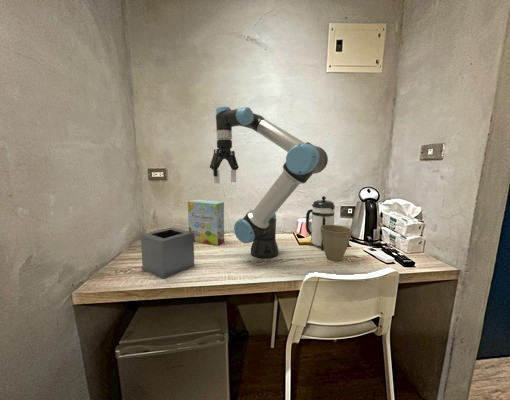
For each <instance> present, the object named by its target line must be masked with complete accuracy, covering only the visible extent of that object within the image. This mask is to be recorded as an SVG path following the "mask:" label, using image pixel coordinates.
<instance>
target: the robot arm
mask: <svg viewBox="0 0 510 400" xmlns="http://www.w3.org/2000/svg"><path fill="white" fill-rule="evenodd" d="M215 109H216V110H215V123H216V140H217V141H216V147H217V148H214V149H213V154H212V159H211V162H210V165H209V168H210V169H211V171H212V172H213V175H212V176H213V182H214V184H220V179H221V178H220V169H219V168H220V166H221V164H222V162H223V160H226V161H227V163H228V165H229V167H230V169H231V170H230V182H231V183H236V182H237V170H238V169H239V165H238V162H237V157H236V154H235V153H236V152H235V150H232V148H233V141H232V140H233V131H232V128H233V127H238V126H239V127H243V128H248V129H249V130H250V129H251V130H253V131H254V132H256V133H258V134H260V135H261V136H262V137H264V138H265V139H267V140H269V141H270V142H271V143H273V144H275V145H276V146H277V147H279V148H281V149H282V150H284V151H285V152H287V153H286V156H285V162H284V163H283V165H282V170H283V171H282V172H281V174H280V175H279V176H278V178H277V179H276V180H275V181H274V182H273V184H272V185H271V187H270V188H269V189H268V190H267V192H266V193H265V194H264V196H263V197H262V198H261V200H260V201H259V202H258V204H257V205H256V206H255V208H254V209H249V210H248V212H246V214H245V215H244V217H243V218H239V219H238V220H236V222H235V223H234V225H233V227H234V228H233V230H234V235H235V237H236V239H237V240H238V241H240V242H241V243H243V244H249V243H252V244H251V247H250V255H251V256H253V257H255V258H259V259H272V258H275V257H277V256H279V247H278V243H277V239H276V237H277V236H276V235H277V234H276V233H277V212H278V210H279V209H280V208H281V207H282V205H284V203H285V202H286V201H287V200H288V198H289V197H290V196H291V195H292V193H294V191H295V190H296V189H297V188H298V187H299V185H301V184H302V185H303V184H306V183H307V182H308V180H309V179H310V178H311V177H312V176H313V175H314V174H315V175H316V174H319V173H321V172H322V171H323V170H325V168H326V167H327V165H328V163H329V162H328V161H329V160H328V159H329V156H328V153H327V152H326V150H325V149H323V147H320V146H316V145H314V144H312V143H311V142H309V141H308V142H304V141H302V140H301V139H299V138H297V137H296V136H294V135H292V134H290V133H289V132H288V131H286V130H285V129H282V128H281V127H279V126H277V125H276V124H274V123H272V122H271V121H269V120H268V119H266V118H265V117H264V116H263V115H260V114H257V113H254V112H253V110H252V109H251V108H250V107H249V106H244V107H239V108H234V109H231V108H230V107H229V106H218V107H217V108H215Z"/></svg>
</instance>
